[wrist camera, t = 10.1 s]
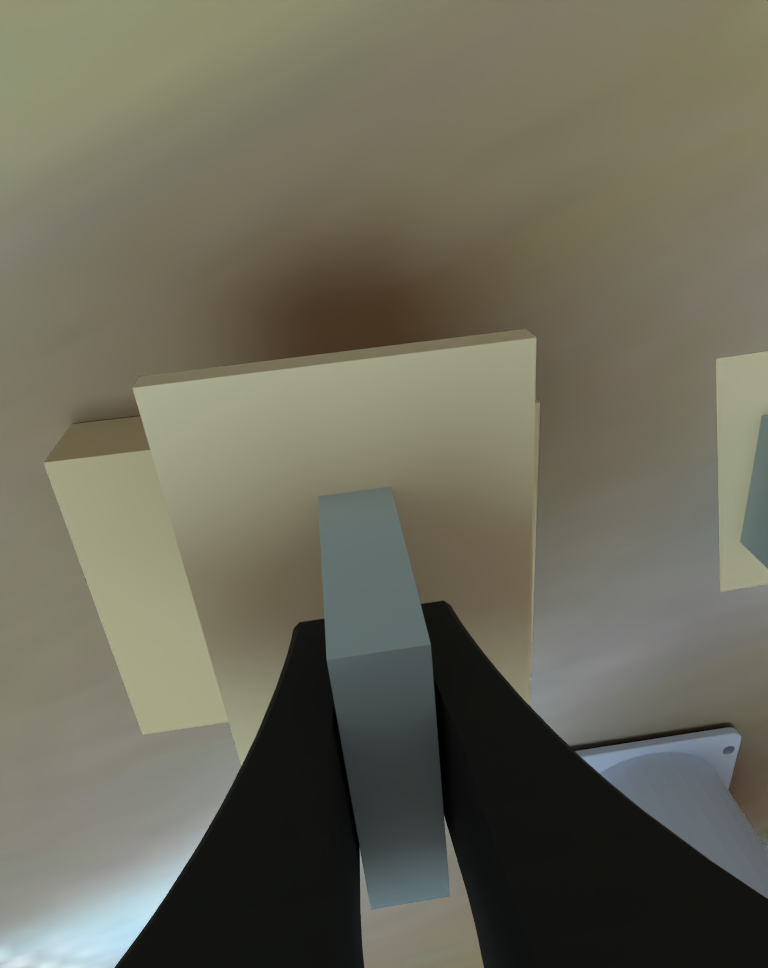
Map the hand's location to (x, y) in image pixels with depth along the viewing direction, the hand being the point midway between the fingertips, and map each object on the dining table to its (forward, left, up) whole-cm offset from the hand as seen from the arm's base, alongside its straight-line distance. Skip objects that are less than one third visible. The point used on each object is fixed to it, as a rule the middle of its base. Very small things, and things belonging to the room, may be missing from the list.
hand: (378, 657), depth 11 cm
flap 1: (0, 0, -2) cm, 2 cm away
